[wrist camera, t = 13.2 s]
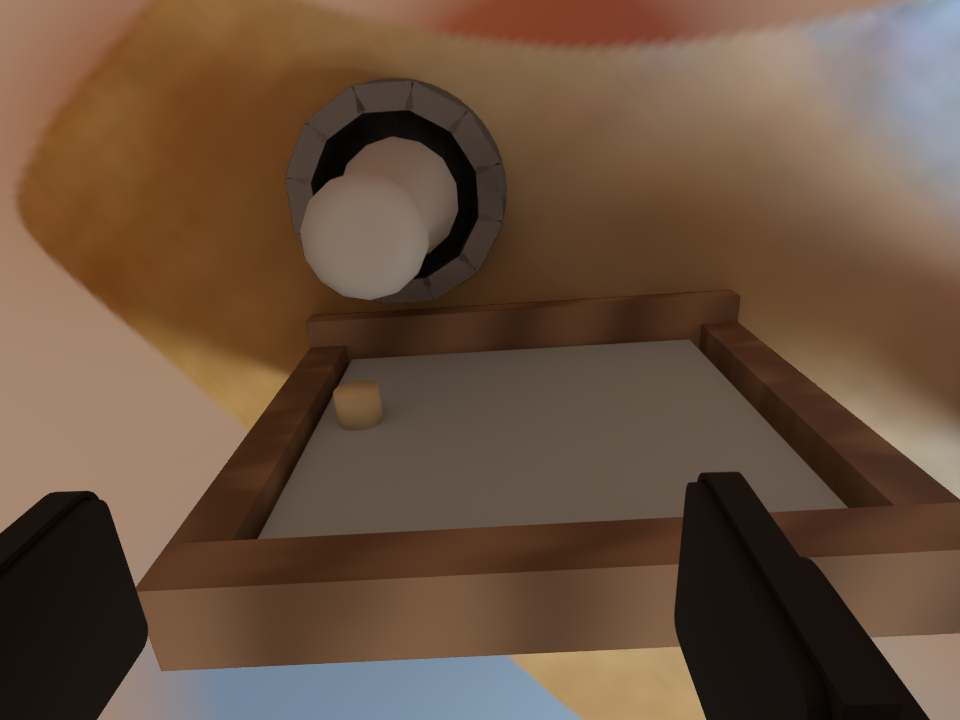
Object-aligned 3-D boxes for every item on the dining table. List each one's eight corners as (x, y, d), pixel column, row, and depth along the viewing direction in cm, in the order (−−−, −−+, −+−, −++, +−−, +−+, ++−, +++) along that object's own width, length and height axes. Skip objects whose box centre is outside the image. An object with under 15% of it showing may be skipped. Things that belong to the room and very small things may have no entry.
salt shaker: (328, 171, 31) (231, 206, 19) (422, 113, 30) (384, 111, 18) (388, 268, 33) (335, 355, 21) (479, 217, 32) (479, 278, 20)
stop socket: (500, 71, 30) (502, 66, 27) (510, 286, 34) (513, 301, 31) (280, 86, 30) (261, 84, 27) (317, 298, 34) (303, 314, 31)
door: (691, 313, 33) (865, 476, 18) (687, 364, 34) (848, 555, 19) (347, 334, 33) (242, 509, 18) (355, 383, 34) (261, 585, 20)
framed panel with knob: (731, 290, 34) (1035, 499, 15) (722, 386, 36) (977, 670, 18) (311, 315, 34) (116, 548, 16) (328, 408, 37) (174, 707, 18)
